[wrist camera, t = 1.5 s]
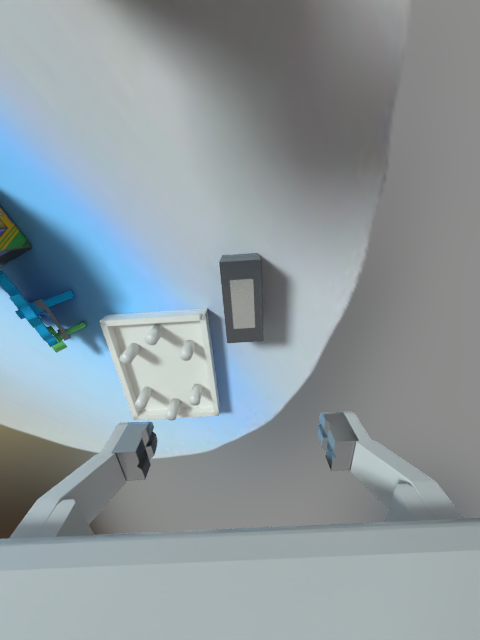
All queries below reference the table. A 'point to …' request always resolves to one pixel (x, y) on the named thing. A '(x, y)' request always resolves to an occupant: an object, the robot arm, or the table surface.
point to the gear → (39, 307)
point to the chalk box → (10, 240)
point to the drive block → (242, 297)
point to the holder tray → (164, 362)
